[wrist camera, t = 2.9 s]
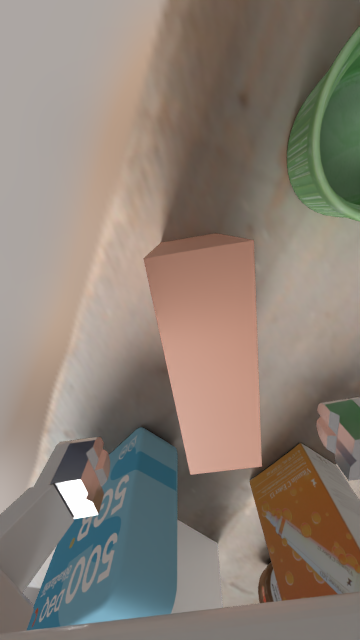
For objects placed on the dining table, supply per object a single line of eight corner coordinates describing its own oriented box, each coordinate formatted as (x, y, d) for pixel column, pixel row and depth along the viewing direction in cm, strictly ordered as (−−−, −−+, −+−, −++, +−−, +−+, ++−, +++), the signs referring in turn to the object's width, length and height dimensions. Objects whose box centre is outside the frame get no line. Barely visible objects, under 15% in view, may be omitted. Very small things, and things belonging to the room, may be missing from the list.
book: (215, 233, 16) (253, 240, 8) (228, 371, 21) (261, 466, 13) (160, 242, 17) (143, 258, 8) (185, 376, 21) (190, 474, 13)
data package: (145, 419, 23) (114, 599, 12) (178, 440, 24) (179, 622, 13) (81, 479, 26) (11, 662, 15) (113, 495, 28) (69, 676, 16)
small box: (299, 440, 24) (420, 652, 12) (337, 464, 26) (478, 674, 14) (246, 480, 27) (303, 690, 15) (284, 500, 28) (363, 706, 16)
